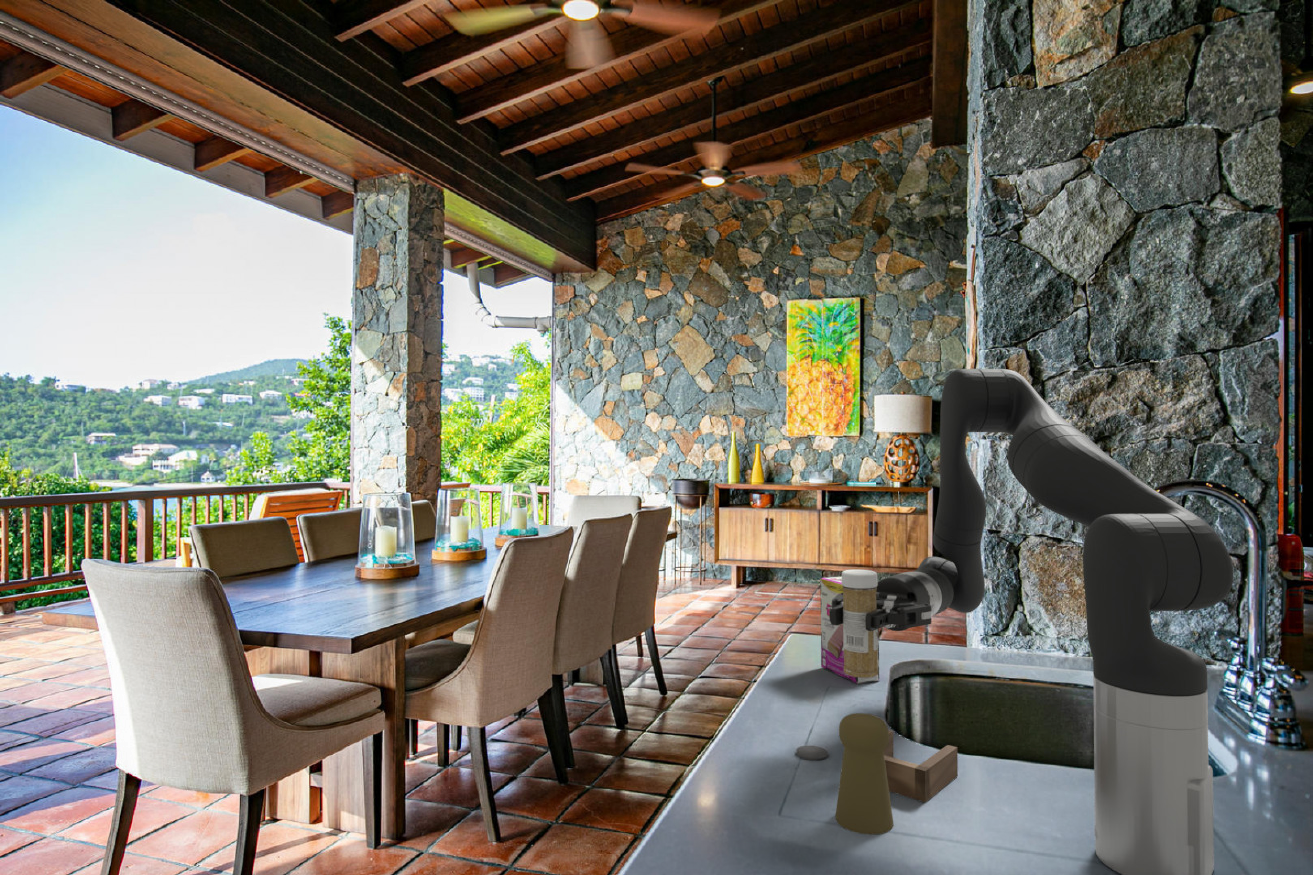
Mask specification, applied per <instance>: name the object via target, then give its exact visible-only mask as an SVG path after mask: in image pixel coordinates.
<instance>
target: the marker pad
mask: <svg viewBox="0 0 1313 875" xmlns="http://www.w3.org/2000/svg"><path fill="white" fill-rule="evenodd" d="M795 752H796V756H797V757H798V758H801V759H804V760H806V761H807V760H808V761H822V760H826V759H827V758H828V757H829V752H828V750H827V748H824V747H821V746H818V745H810V744H809V745H808V744H807V745H806V744H805V745H801V746H798V747H797V748H796V751H795Z"/></svg>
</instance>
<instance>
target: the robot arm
mask: <svg viewBox="0 0 1313 875" xmlns="http://www.w3.org/2000/svg"><path fill="white" fill-rule="evenodd" d="M940 400H941V401H940V419H939V420H940V425H939V426H940V428H939V429H940V430H939V433H940V434H939V471H940V472H939V493H938V494H939V496H938V504H937V511H936V517H935V523H934V528H933V529H934V530H933V537H932V543H933V546H934V548H935V550H936V551H937V552H939V553H940V554H941V555H943V556H944V557H946V558H947V559H945V558H943V557H939V556H928V557H925V558H924V559H923V560H922V561H921V563H919V566H918V568H916V569H915V570H913V571H906V572H901V573H898V574H894V575H891V576H888V577H884V578H882V579H880V580H878V585H877V587H876V588H877V590H876V610H874V611H872V612H869V613H867V614H866V630H867V631H874V630H877V629H879V630H880V629H882V628H885V629H886V630H889V631H892V632H902V631H906V630H909V629H912V628H916V627H922V626H928V625H931V624H932V622H933V621H932V617H934V616H936V615H939V614H941V613H942V612H945V611H946V610H947V609H948V608H949V609H951V610H954V611H956V612H959V613H961V614H968V613H971V612H974V611H975V610H976V609H978V608H979V606H980V605H981V603H982V602H983V600H984V599H983V598H984V597H985V590H986V588H985V587H986V584H985V575H984V569H983V562H982V561H983V560H982V552H981V549H982V548H981V544H982V539H983V533H984V530H985V528H984V527H985V524H986V519H987V504H986V500H985V499H986V498H985V495H984V492H983V490H982V487H981V485H980V484H979V482H978V480H977V478H976V476H975V473H974V471H973V470H972V467H971V465H970V463H969V460H968V457H967V452H966V443H967V440H966V439H967V436H968V433H1004V434H1009V435H1011V436H1012V437H1011V439H1010V442H1009V445H1008V449H1007V463H1008V464H1007V465H1008V466H1009V469H1010V471H1011V474H1012V475H1013V477H1014V478H1015V479H1016V481H1017V482H1018V483H1019V484H1020V485H1021V486H1022V487H1023V488H1024V489H1025V490H1026V492H1027V493H1028V494H1029V495H1030V496H1031V497H1032V498H1033V499H1034V500H1035V501H1037V502H1038V503H1039V504H1040V505H1042V506H1043V507H1044V508H1045V509H1048V510H1049V511H1052V512H1053V513H1056V514H1058V515H1059V516H1062V517H1063V518H1067V519H1069V520H1070V521H1074V522H1076V523H1078V524H1080V525H1084V526H1086V527H1088V529H1087V530H1086V531H1087V532H1086V533H1085V538H1084V541H1083V547H1082V550H1083V552H1082V553H1083V554H1082V569H1083V570H1082V571H1083V572H1082V573H1083V584H1084V594H1085V595H1084V598H1085V613H1086V632H1087V640H1088V645H1089V649H1090V653H1091V657H1092V668H1093V670H1092V672H1093V673H1092V674H1093V744H1094V745H1093V746H1094V747H1093V753H1094V754H1093V757H1094V759H1093V762H1094V763H1093V764H1094V765H1093V769H1094V772H1093V773H1094V823H1095V824H1094V838H1095V840H1094V842H1095V843H1094V847H1095V854H1096V856H1097V857H1098V859H1099V860H1100V861H1101V862H1102V863H1103V864H1104V865H1106V866H1107V867H1109V868H1110V869H1111V870H1113V871H1115V872H1116V873H1119V874H1121V875H1213V872H1214V869H1215V851H1214V850H1215V848H1214V847H1215V843H1214V841H1215V840H1214V839H1215V838H1214V834H1215V833H1214V832H1215V831H1214V829H1215V828H1214V782H1213V781H1214V779H1213V778H1214V774H1213V773H1214V772H1213V767H1212V766H1211V765H1210V764H1209V723H1208V722H1209V720H1208V719H1209V714H1208V713H1209V712H1208V710H1209V709H1208V708H1209V706H1208V704H1209V702H1208V701H1209V700H1208V699H1209V698H1208V668H1207V665H1206V662H1205V660H1204V659H1203V658H1202V657H1201V656H1199V655H1198V654H1196V653H1195V652H1193V651H1190V650H1189V649H1185V648H1182V647H1179V646H1177V645H1174V644H1170V643H1167V642H1165V641H1163V640H1161V639H1160V638H1158V636H1156V635H1155V633H1154V631H1153V625H1152V619H1151V618H1152V617H1151V612H1187V611H1189V612H1190V611H1197V610H1202V609H1206V608H1210V607H1213V606H1215V605H1217V604H1218V603H1221V602H1222V601H1223V600H1224V599H1225V598H1226V597H1227V596H1228V594H1229V593H1230V591H1231V589H1232V586H1233V584H1234V567H1233V563H1232V558H1231V556H1230V553H1229V551H1228V548H1227V547H1226V545H1225V542H1224V541H1223V540H1222V538H1221V537H1220V536H1219V534H1218V533H1217V531H1215V529H1213V527H1212V526H1211V525H1209V524H1208V523H1207V521H1205V520H1204V519H1202V518H1201V517H1199V515H1196V514H1195V513H1194V512H1192V511H1190V510H1188V509H1187V508H1185V507H1183V506H1182V505H1180V504H1178V503H1177V502H1175V501H1173V500H1172V499H1170V498H1169V497H1167V496H1165V495H1163V494H1162V493H1160V492H1159V491H1156V490H1155V489H1153V488H1151V487H1150V486H1149V485H1147V484H1146V483H1145V482H1144V481H1143V480H1141V479H1140V478H1138V477H1136V476H1135V475H1134V474H1133V473H1131V471H1129V470H1128V469H1126V467H1124V466H1123V465H1121V464H1120V463H1119V462H1117V461H1116V460H1114V459H1113V458H1112V457H1111V456H1109V455H1108V454H1107V453H1106V452H1104V451H1103V450H1102V449H1101V448H1100V447H1099V446H1098V445H1097V444H1096V443H1095V442H1094V441H1092V440H1091V439H1090V438H1089V437H1088V436H1087V435H1085V434H1084V433H1083V432H1081V430H1080V429H1078V428H1077V427H1075V426H1073V425H1072V424H1070V423H1069V422H1068V421H1067V420H1065V418H1064V417H1062V416H1061V414H1059V413H1057V412H1056V410H1055V409H1054V408H1052V407H1051V406H1050V405H1049V404H1048V403H1047V402H1046V401H1045V400H1044V399H1043V397H1041V395H1040V394H1039V393H1038V392H1037V391H1036V389H1035V388H1034V387H1033V386H1032V385H1031V383H1030V382H1029V381H1028V380H1027V379H1026V378H1025V377H1024V376H1023V375H1022V374H1020V373H1019V372H1017V371H1016V370H1015V371H1014V370H1011V369H1006V368H959V369H955V370H952V372H950V373H949V374H948V376H947V377H946V379H945V382H944V385H943V388H942V392H941V398H940ZM829 617H830V621H831V624H832V625H836V626H838V625H840V624H843V593H840V594H838V595H837V596H836V597H835V598H833V599H832V609H830V610H829Z"/></svg>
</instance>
